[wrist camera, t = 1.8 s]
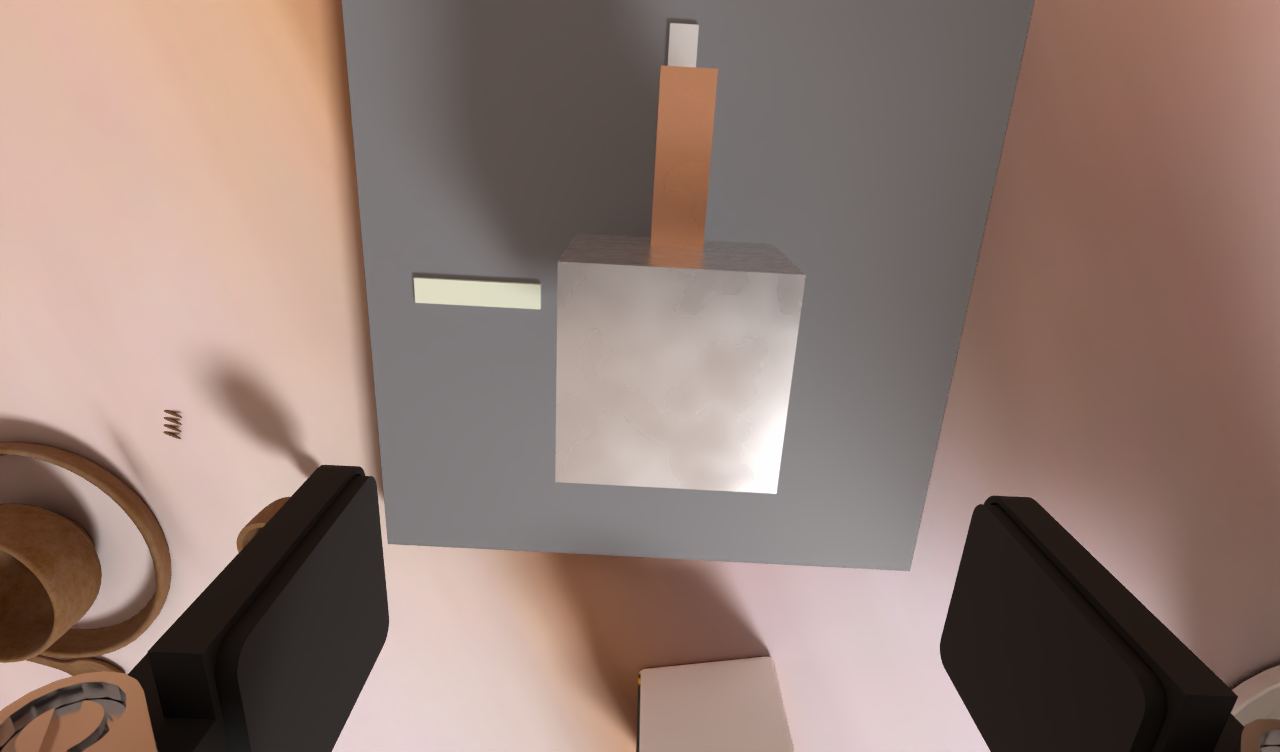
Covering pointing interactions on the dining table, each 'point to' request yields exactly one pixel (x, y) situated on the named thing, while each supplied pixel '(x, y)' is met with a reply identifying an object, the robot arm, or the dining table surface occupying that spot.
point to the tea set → (74, 571)
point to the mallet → (675, 332)
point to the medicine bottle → (712, 708)
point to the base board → (622, 205)
